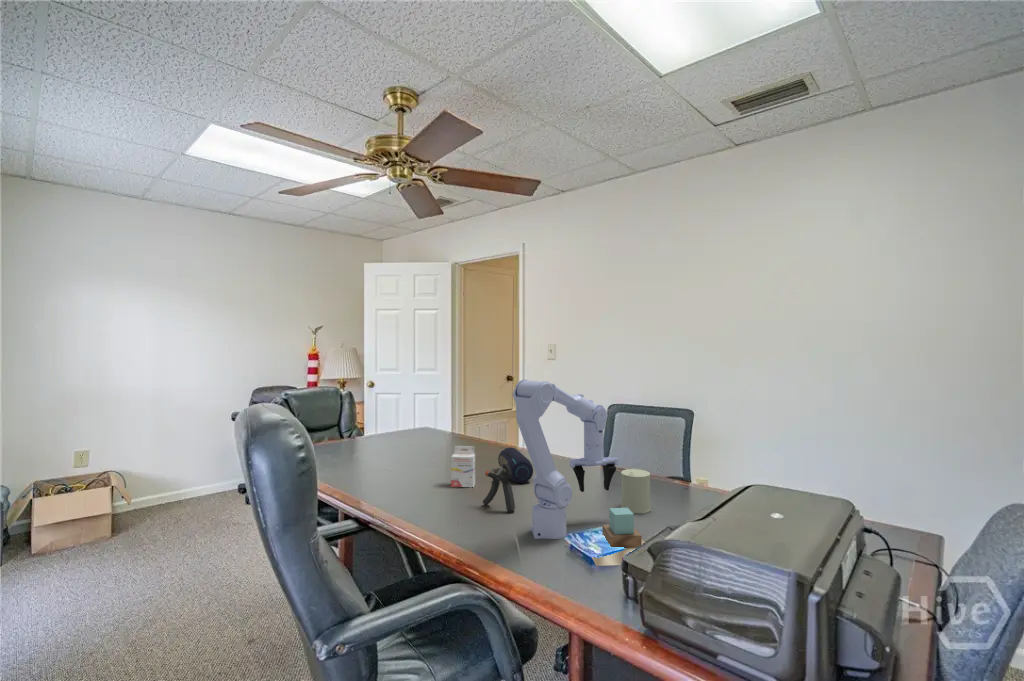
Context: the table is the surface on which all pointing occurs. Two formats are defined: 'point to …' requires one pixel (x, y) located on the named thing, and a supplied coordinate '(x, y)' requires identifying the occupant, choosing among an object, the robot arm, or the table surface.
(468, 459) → the ink cartridge box
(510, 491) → the hand grip strengthener
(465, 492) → the table surface
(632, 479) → the can
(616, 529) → the teal cube
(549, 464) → the robot arm
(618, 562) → the birch board
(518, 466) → the portable speaker
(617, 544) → the walnut base
